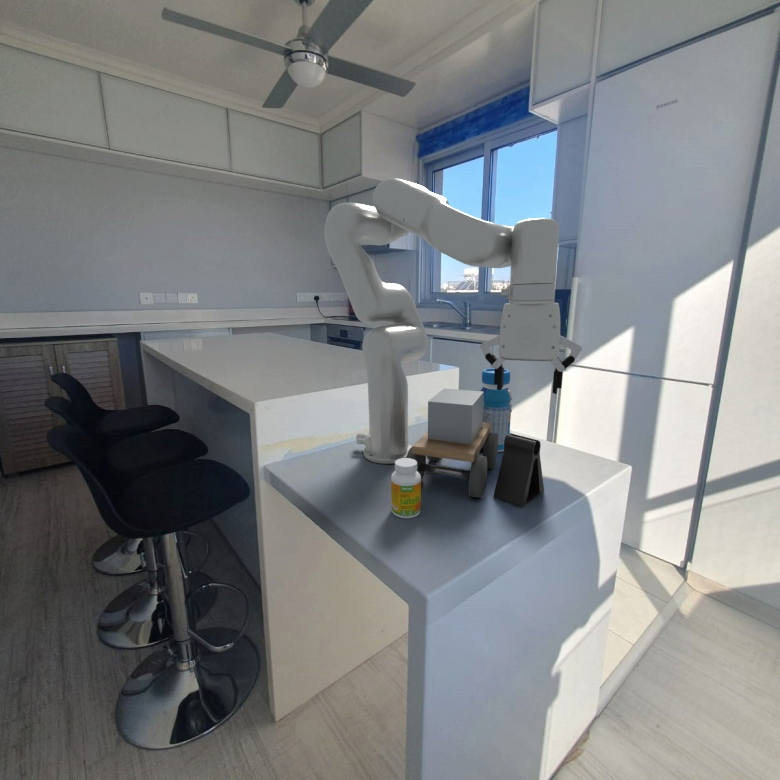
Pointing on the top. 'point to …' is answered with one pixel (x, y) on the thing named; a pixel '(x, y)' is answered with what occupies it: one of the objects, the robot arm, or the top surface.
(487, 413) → the beverage bottle
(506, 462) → the phone stand
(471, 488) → the trolley
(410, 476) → the supplement bottle
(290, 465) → the top surface
